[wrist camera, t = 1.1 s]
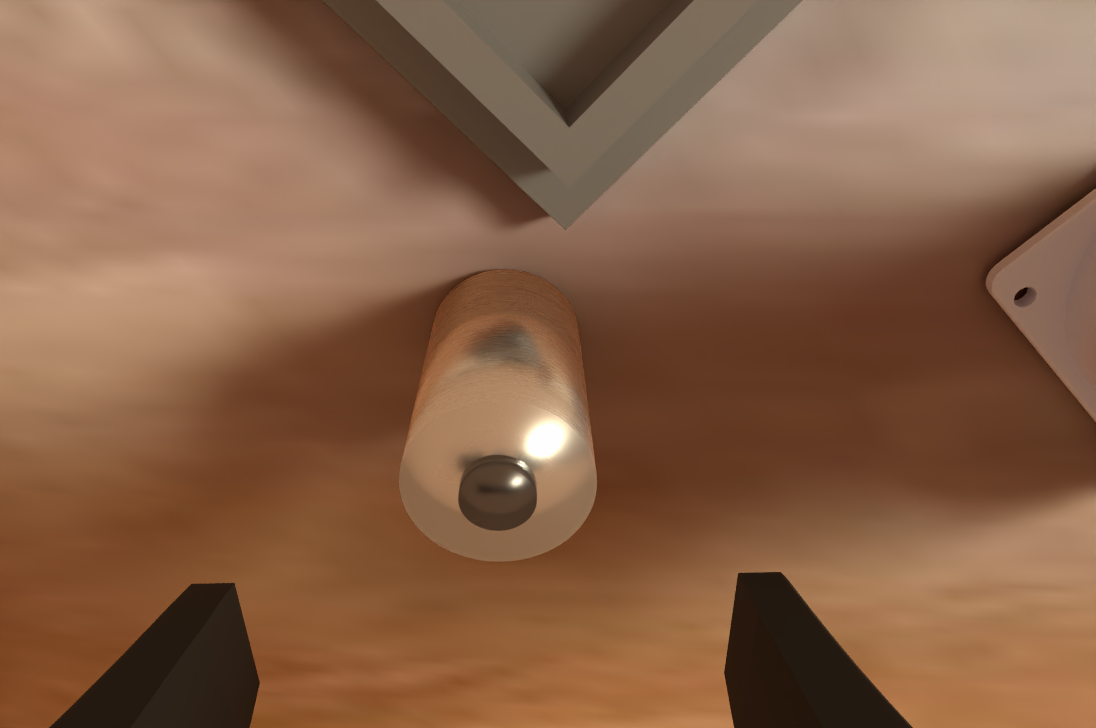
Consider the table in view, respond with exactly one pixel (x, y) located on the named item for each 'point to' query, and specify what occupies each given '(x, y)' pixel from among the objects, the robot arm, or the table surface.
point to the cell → (500, 422)
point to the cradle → (563, 76)
